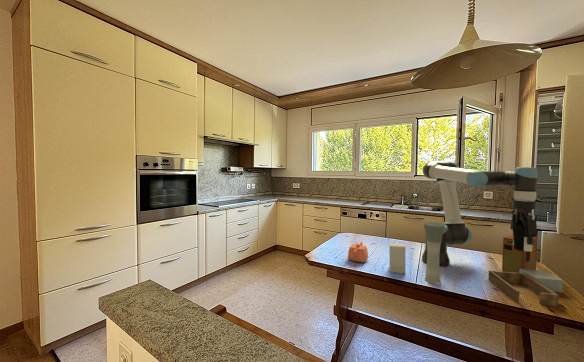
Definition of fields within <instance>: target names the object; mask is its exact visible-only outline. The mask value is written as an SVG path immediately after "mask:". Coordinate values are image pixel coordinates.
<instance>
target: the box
mask: <svg viewBox="0 0 584 362" xmlns="http://www.w3.org/2000/svg"><path fill="white" fill-rule="evenodd" d="M502 238H503V241H502V242H503V243H502V261H501V262H502V263H501V271H503V272H514V273H519V269H530V270H537V259H538V258H537V257H538V256H537V254H538V253H537V252H538V251H537V250H538V239H539V237H538V236H537V237H534V238H533V244H532V252H530V251H529V252H525V251H519V250H516V249H514V245H513V234H511V235H506V236H503V237H502Z"/></svg>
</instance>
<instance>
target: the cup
mask: <svg viewBox="0 0 584 362" xmlns="http://www.w3.org/2000/svg"><path fill="white" fill-rule="evenodd" d="M512 228H513V230H512V235H513V241H514V249H516V250H519V251H524V236H526V234H525V226H524V224H522V225H516V223H512ZM525 252H529V251H525Z"/></svg>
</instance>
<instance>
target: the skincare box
mask: <svg viewBox="0 0 584 362" xmlns="http://www.w3.org/2000/svg"><path fill="white" fill-rule="evenodd" d="M388 249H389V273H393V272H396V273H395V274H402V273H404V275H405V274H406V244H405V243H400V242H397V243H396V242H389V248H388Z"/></svg>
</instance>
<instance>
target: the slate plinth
mask: <svg viewBox="0 0 584 362" xmlns="http://www.w3.org/2000/svg"><path fill="white" fill-rule="evenodd" d="M519 273H523V274H525V275H527V276H528V277H530V278H532V279H533V280H535V281H536V282H538V283H540V284H541V285H543V286H545V287H546V288H548V289H550V290H551V291H553V292H554V293H560V294H561V293H562V294H563V293H564V291H563V290H564V280H563V279H562V278H560V277H558V276H556V275H554V274H552V273H550V272H548V271H547V270H543V269H541V270H540V269H536V270H530V269H519Z"/></svg>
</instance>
